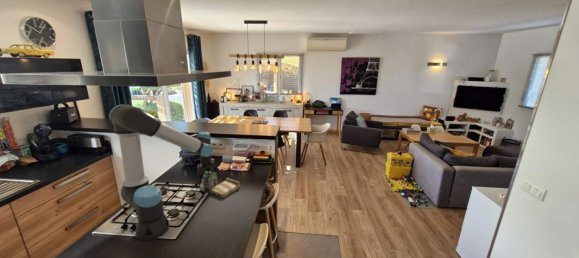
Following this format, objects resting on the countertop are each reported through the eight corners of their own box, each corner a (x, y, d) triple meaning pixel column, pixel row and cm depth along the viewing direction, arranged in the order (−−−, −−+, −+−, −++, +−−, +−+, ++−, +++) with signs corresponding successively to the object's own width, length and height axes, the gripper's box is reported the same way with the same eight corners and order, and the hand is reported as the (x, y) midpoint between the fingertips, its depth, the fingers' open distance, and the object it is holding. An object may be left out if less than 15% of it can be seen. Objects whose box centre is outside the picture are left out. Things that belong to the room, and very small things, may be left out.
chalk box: (218, 187, 163) (216, 168, 159) (209, 193, 155) (208, 173, 151) (207, 184, 166) (206, 165, 162) (198, 190, 158) (196, 171, 154)
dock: (223, 198, 150) (222, 192, 148) (210, 192, 155) (210, 186, 154) (239, 187, 163) (239, 181, 162) (227, 183, 169) (227, 177, 168)
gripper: (195, 161, 143) (198, 192, 148) (222, 150, 161) (223, 179, 167) (187, 158, 146) (190, 189, 152) (214, 148, 165) (216, 176, 171)
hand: (208, 184), depth 160 cm, fingers closed on chalk box, 10 cm apart
